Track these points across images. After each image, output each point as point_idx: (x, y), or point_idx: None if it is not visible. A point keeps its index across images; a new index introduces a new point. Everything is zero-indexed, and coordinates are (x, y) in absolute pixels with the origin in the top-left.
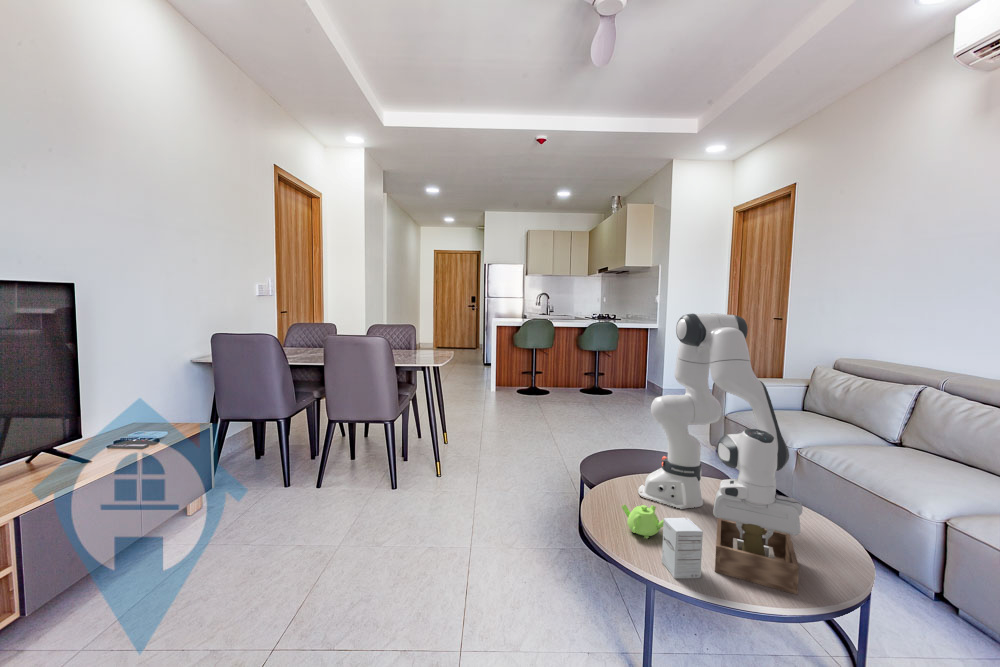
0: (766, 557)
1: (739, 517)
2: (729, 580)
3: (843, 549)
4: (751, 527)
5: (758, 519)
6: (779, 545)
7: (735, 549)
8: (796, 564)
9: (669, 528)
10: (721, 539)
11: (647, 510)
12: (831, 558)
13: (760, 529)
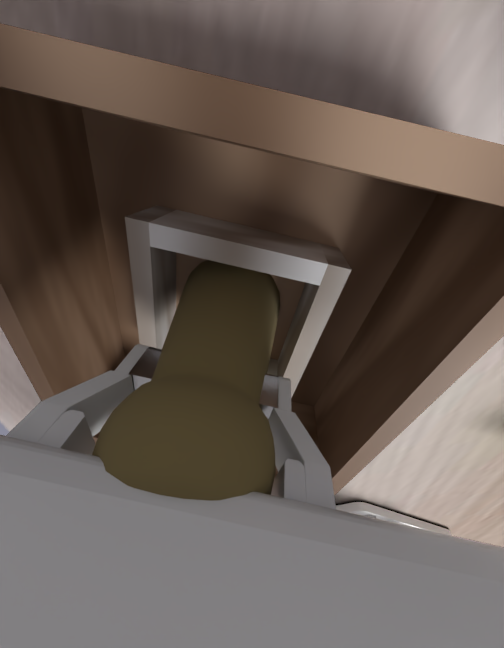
0: (138, 99)
1: (333, 606)
2: (416, 88)
3: (18, 416)
4: (205, 454)
5: (60, 609)
6: None
7: (436, 173)
8: None
9: None
10: (310, 407)
11: None
12: (29, 382)
13: (117, 436)
